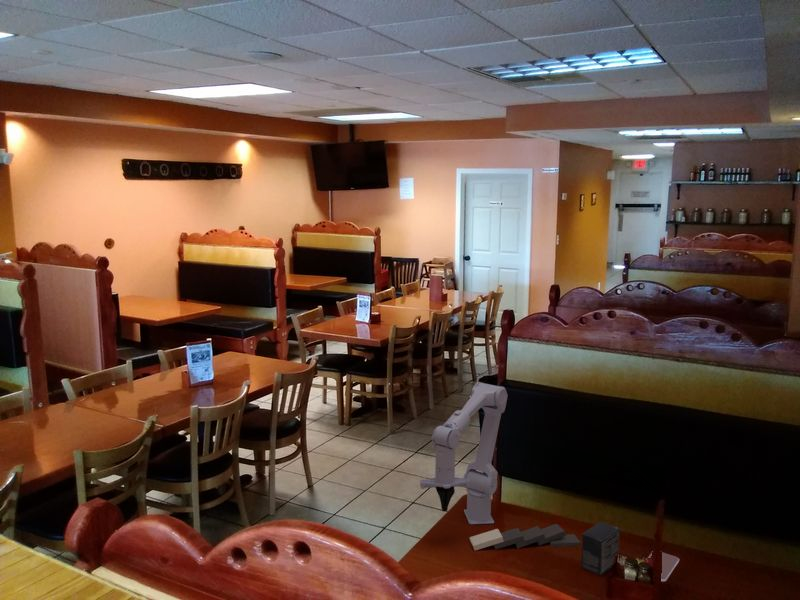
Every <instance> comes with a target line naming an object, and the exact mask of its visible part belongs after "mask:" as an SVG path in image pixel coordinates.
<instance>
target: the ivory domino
mask: <svg viewBox="0 0 800 600" xmlns="http://www.w3.org/2000/svg"><path fill="white" fill-rule="evenodd" d="M501 533H502V532H500V530H499V529H498V528H495V529H492V530H489V531H485V532H482V533H479V534H475V535H473V536H470V537H469V540H470V541H469V542H470V544H471V546H472V547H473V550H474V551H478V550H481V549H485V548H487V547H491V546H493V545H495V544H498V543H501V542H504V541H503V537H502V535H501Z"/></svg>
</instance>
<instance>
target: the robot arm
mask: <svg viewBox="0 0 800 600" xmlns="http://www.w3.org/2000/svg"><path fill="white" fill-rule="evenodd" d="M507 400H508V393H507V390H506V387H504V386H498V385H494V384H489V383H485V382H481V381H478V382H476V383H475V384H474V385H473V386H472V389H471V396H470V397H469V399H468V400H467V402H466V403H465V404H464V405H463V407H462V408H461V409H459V410H458V409H457V410H455V411H454V412H453V413H452V414H451V415H450V416H449V418H448V419H447V420H446V421H445V422H444V423H443V425H439V426H436V427H435V428H434V429H433V431H432V436H431V442H432V444H433V449H434V451H435V469H434V470H435V473H434V474H435V475H434V476H435V477H432V478H427V479H420V480H419V487H420V489H421V490H423V489H424V490H425V489H426V488H427V489H428V488H435V489H436V493H437V495H438V497H439V498H438V499H439V501H440V507H441V511H442V512H448V508H449V504H450V502H451V499H452V497H453V496H454V494H455V487H464V488H466V492H467V493H466V494H467V495H466V497H467V498H466V509H464V510H463V512H464V515H465V516H466V520H467V521H468V524H469V525H488V524H494V523H495V520H494V519H493V516H492V515H491V514H492V513H491V512H492V510H491V509H492V508H491V506H492V495H493V494H495V492H496V491H497V488H498V474H499V473H498V471H497V469H495V467H494V465H492V461H493V457H494V451H495V447H496V442H497V436H498V433H499V432H498V431H499V427H500V421H501V418H502V417H501V416H502V414H503V413H505V410H506V407H507ZM480 409H482V410H483V412H484V417H483V421H482V427H481V432H480V437H479V441H478V446H477V447H478V448H477V451H476V455H475V456H476V458H475V460H474V461H472V462H471V463H469V464H468V465H467V468H466V470H465V472H464V473H463V474H464V475H463V477H455V476H456V475H455V473H456V472H455V471H456V447H458V445H459V443H460V439H461V438H462V434H463V433H464V432H465V430H466V429H467V428H468V426H470V424H471V418H472V417H473V416H474V415H475V414H476V413H477V412H478V411H479V410H480Z"/></svg>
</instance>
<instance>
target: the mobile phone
mask: <svg viewBox="0 0 800 600" xmlns="http://www.w3.org/2000/svg"><path fill="white" fill-rule="evenodd" d="M661 552H662V573H661V581H660V582H667V580H668V578H669V577H670V575H671V574H672V573H673V571H674V569H675V568H676V566H677V565H678V564H679V562H680V558H679V557H677V556H676V555H671V554H669V553H666V552H663V551H661ZM651 556H652V552H651V553H650V554H649V556H648V557H647V558H651Z"/></svg>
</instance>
